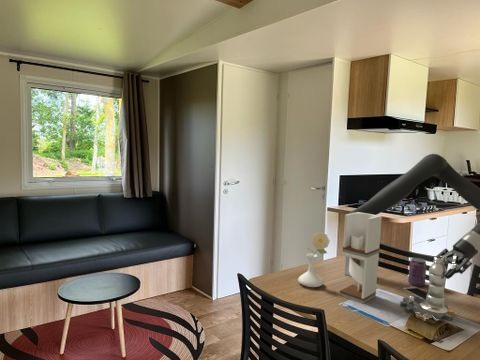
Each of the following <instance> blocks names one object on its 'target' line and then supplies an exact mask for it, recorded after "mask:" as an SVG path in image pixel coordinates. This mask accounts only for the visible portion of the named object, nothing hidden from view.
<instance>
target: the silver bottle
mask: <svg viewBox="0 0 480 360" xmlns="http://www.w3.org/2000/svg"><path fill="white" fill-rule="evenodd" d="M444 260H445V258H443V257H442V256H440V257H439V256H437V255H436V256H435V255H434V257H433V260H432V261H433V263H432V264H431V265H430V266H429V268H428V275H429V276H428V281H429V282H428V289H427V290H428V291H427V293H428V294H427V297H426V303H427V305H428V306H430V307H432V308H436V309H441V308H443V307H444V304H446V303H445V302H446V301H445V285H446V280H447V278H445V276H444V274H445V273H446V272H447V271H448V269H447V268H446V266H445V264H444V263H445V262H444Z"/></svg>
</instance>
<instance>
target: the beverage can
mask: <svg viewBox="0 0 480 360" xmlns="http://www.w3.org/2000/svg"><path fill="white" fill-rule="evenodd" d="M426 262H427V261H426V260H425V259H423V258H418V257H411V258H410V261H409V265H408V266H409V267H408V269H409V270H408V281H407V282H408V283H409V284H410V285H411V286H413V287H424V286H425V285H426V277H427V276H426V275H427V274H426V273H427V267H428V266H427V263H426Z"/></svg>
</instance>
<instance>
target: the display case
mask: <svg viewBox="0 0 480 360" xmlns="http://www.w3.org/2000/svg"><path fill="white" fill-rule="evenodd" d="M382 218H383V216H382V215H379V214H377V215H373V214H367V213H361V212H356V213H351V214H349V213H348V214H347V213H346V214H344V224H343V225H344V227H343V239H342V241H343V243H342V253H341V254H342V256H345V257H346V256H349V257H350V263H349V273H350V275H351V276H352V279H353V280H354V283H352V284H351V285H348V286H346V287H344V288H342V289H340V290H339V296H341V297H344V298H346V299H348V300H352V301H355V302H357V303H360V302H361V303H360V304H363V303H364V304H365V303H367V302H368V301H370V300H373V298H375V297H376V293H377V282H378V271H379V257H380V244H381V232H382V231H381V228H382ZM351 276H350V277H351Z"/></svg>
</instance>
